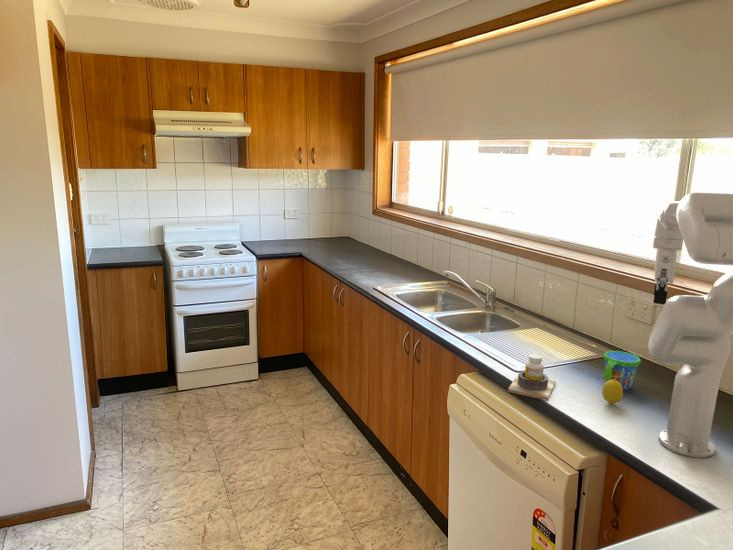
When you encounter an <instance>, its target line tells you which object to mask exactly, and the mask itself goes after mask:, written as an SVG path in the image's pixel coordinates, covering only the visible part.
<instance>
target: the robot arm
mask: <svg viewBox="0 0 733 550" xmlns="http://www.w3.org/2000/svg"><path fill="white" fill-rule="evenodd" d="M656 215H657V216H656V221H655V222H656V223H655V229H654V236H653V242H652V243H653V244H652V248H653V249H655V250H656V252H655V253H656V256H655V263H654V282H655V284H654V290H653V304H657V305H663V307H662V309H661V311H660V313H659V315H658V317H657V320H656V321H655V324H654V325H653V328H652V330H651V333H650V335H649V337H648V338H649V339H648V352H649V354H650V356H651V357H652V358H653V360H656V361H658V362H660V363H666V364H674V365H675V364H676V365H682V367H681V368H680V369H679V370H678V372H677V373H676V374H675V376H674V377H675V378H674V382H673V387H672V388H673V389H672V395H671V400H670V401H671V402H670V408H669V413H668V419H667V426H666V429H664V430H662V431H660V432H659V433H658V441H659V443H660V444H661V445H662V446H664V448H667V449H668V450H670V451H672V452H674V453H677V454H680V455H683V456H687V457H692V458H709V457H712V456H713V455H714V454H715V452H716V447H715V445H714V443H713V442H712V441H710V437H711V432H712V426H713V419H714V414H715V408H716V403H717V397H718V392H719V388H720V384H721V383H720V382H721V379H722V374H723V372H724V368H725V366H726V364H727V362H728V359H729V356H730V353H731V349H732V348H731V345H732V344H731V340H730V338H729V336H730V337H731V336H732V335H733V269H732V270H730V271H728V272H726V273H724V275H722V276H721V277H719V278H718V279H717V280H716V281H715V282H714V283H713V285H712V287H711V289H710V290H709V292H708V293H707V294H705V295H691V294H690V295H689V294H688V295H686V294H682V295H681V294H678V295H674V296H672V297H670V298H669V299H668V300H667V297H668V284H670V285H673V284H674V279H675V274H676V273H675V272H676V266H677V257H678V252H679V251H682V250H683V249H682V248H683V242H684V245H685V248H686V251H687V253H688V256H689V258H690V259H692V260H693V261H694V262H696V263H699V264H704V265H717V266H718V265H720V266H733V193H718V192H717V193H715V192H713V193H712V192H691V193H688V194H686V195H685V196H684V197H683V198H682V199H681V200H680V201H675V200H664V201H660V203H659V205H658V208H657V213H656Z"/></svg>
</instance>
